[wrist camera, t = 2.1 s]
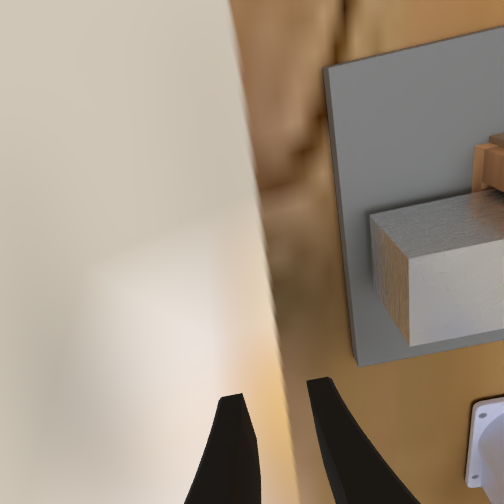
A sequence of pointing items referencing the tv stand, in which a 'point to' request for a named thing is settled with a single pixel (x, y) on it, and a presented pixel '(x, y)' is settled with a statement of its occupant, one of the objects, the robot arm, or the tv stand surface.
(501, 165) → the housing
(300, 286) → the tv stand surface
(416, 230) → the peg
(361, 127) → the mat
